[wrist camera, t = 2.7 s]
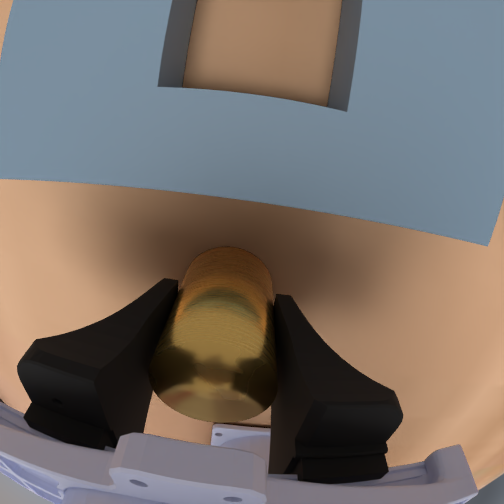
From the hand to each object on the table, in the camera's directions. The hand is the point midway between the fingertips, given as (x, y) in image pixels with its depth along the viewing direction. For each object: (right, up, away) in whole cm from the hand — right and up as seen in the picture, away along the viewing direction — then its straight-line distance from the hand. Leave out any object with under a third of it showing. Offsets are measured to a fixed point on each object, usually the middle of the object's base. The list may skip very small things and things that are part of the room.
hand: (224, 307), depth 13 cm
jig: (+2, +11, -3) cm, 11 cm away
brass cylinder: (0, +1, +1) cm, 2 cm away
